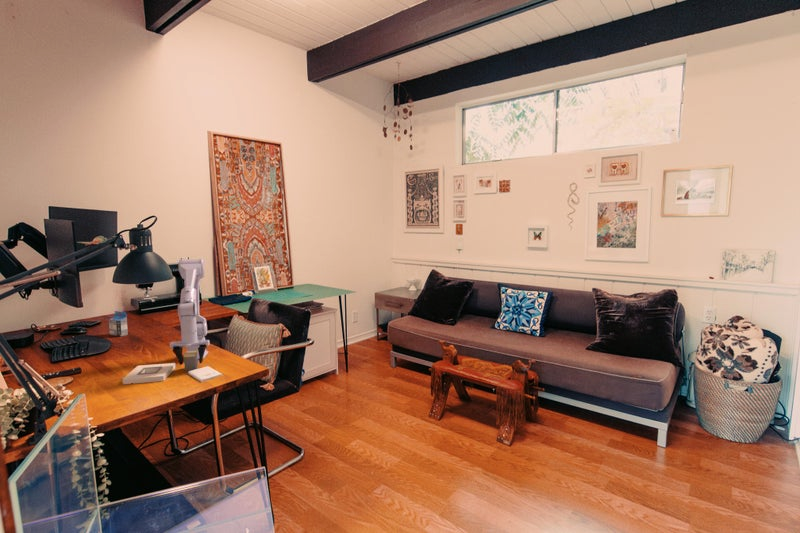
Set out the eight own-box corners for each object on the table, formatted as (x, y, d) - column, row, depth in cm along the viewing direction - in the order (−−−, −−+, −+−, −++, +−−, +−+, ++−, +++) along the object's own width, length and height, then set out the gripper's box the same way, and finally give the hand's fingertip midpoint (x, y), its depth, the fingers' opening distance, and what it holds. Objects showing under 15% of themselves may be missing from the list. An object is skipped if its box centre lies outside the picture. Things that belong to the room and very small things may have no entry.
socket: (138, 370, 166) (137, 365, 166) (175, 367, 169) (175, 362, 169) (122, 384, 152) (122, 378, 152) (163, 380, 155) (163, 375, 155)
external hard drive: (208, 369, 169) (222, 377, 160) (188, 375, 162) (201, 383, 154) (208, 365, 168) (222, 373, 160) (187, 371, 162) (201, 379, 154)
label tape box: (109, 335, 214) (107, 312, 213) (116, 333, 218) (114, 310, 216) (121, 336, 211) (119, 313, 210) (128, 334, 215) (126, 312, 214)
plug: (187, 367, 169) (186, 351, 168) (198, 366, 170) (197, 350, 169) (184, 371, 165) (183, 354, 164) (195, 370, 166) (194, 354, 165)
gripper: (166, 335, 160) (168, 368, 162) (205, 332, 163) (207, 365, 165) (172, 330, 167) (174, 361, 169) (209, 328, 170) (211, 359, 172)
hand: (191, 363), depth 167 cm, fingers open, 7 cm apart
